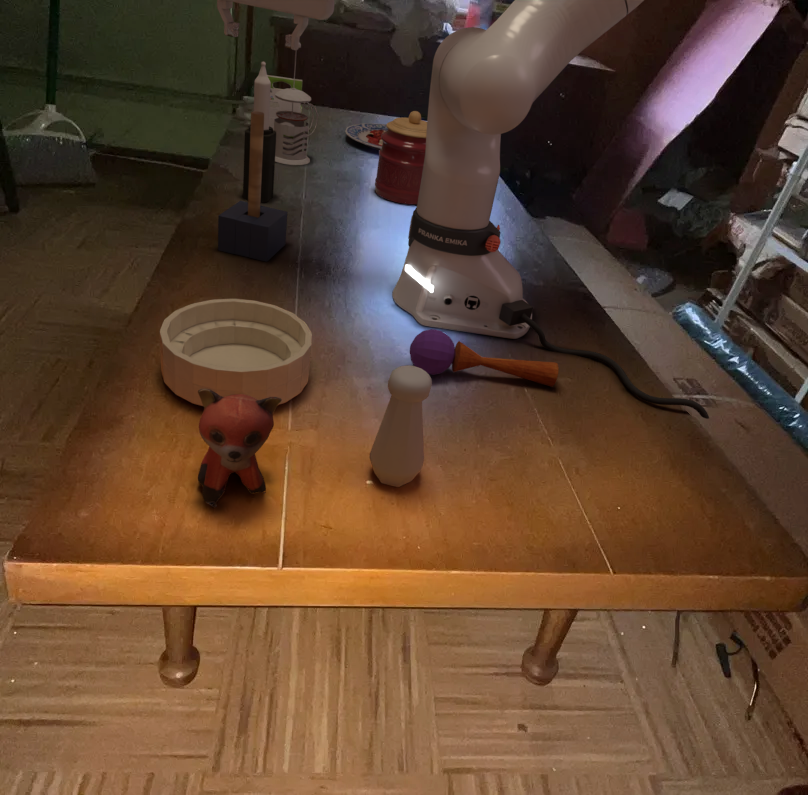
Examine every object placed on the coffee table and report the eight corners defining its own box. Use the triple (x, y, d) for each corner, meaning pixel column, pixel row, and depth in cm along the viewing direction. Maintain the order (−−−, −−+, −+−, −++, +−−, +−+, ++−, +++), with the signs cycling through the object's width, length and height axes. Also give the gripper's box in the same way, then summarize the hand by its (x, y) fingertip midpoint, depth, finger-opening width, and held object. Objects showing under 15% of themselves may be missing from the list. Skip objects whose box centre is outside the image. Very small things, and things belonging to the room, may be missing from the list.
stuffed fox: (272, 443, 80) (278, 349, 74) (276, 514, 71) (283, 414, 64) (200, 443, 78) (200, 346, 72) (195, 515, 69) (195, 412, 63)
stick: (260, 246, 125) (266, 113, 113) (255, 250, 123) (261, 115, 111) (249, 244, 125) (254, 110, 113) (244, 248, 123) (249, 112, 111)
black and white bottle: (265, 203, 142) (272, 66, 129) (240, 198, 143) (244, 60, 129) (274, 196, 147) (281, 62, 133) (250, 190, 147) (255, 57, 134)
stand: (285, 244, 127) (287, 211, 124) (266, 262, 120) (268, 227, 116) (239, 233, 128) (240, 200, 125) (217, 250, 121) (218, 215, 117)
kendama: (565, 373, 95) (415, 345, 92) (548, 405, 99) (405, 379, 96) (558, 344, 99) (416, 316, 96) (543, 375, 103) (405, 349, 100)
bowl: (326, 358, 97) (330, 318, 94) (277, 430, 82) (280, 386, 79) (202, 327, 99) (202, 287, 96) (133, 392, 84) (130, 347, 81)
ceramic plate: (334, 128, 199) (335, 117, 198) (422, 135, 208) (424, 124, 206) (358, 157, 179) (359, 144, 178) (454, 163, 188) (456, 151, 186)
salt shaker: (419, 460, 82) (439, 361, 74) (421, 494, 77) (443, 391, 70) (367, 455, 81) (382, 354, 74) (366, 489, 76) (383, 385, 69)
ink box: (301, 133, 189) (305, 76, 182) (299, 139, 185) (304, 80, 177) (260, 128, 188) (263, 70, 180) (258, 133, 183) (260, 74, 176)
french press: (259, 153, 169) (264, 35, 156) (300, 150, 177) (308, 37, 163) (283, 166, 164) (290, 45, 150) (324, 162, 171) (335, 46, 158)
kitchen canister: (441, 206, 157) (457, 121, 148) (385, 205, 152) (398, 117, 143) (418, 185, 167) (431, 105, 157) (365, 184, 162) (375, 101, 152)
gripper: (346, -55, 100) (336, 54, 107) (208, -82, 102) (208, 27, 110) (330, -56, 94) (321, 59, 102) (186, -84, 97) (187, 30, 105)
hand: (261, 42), depth 106 cm, fingers open, 8 cm apart
